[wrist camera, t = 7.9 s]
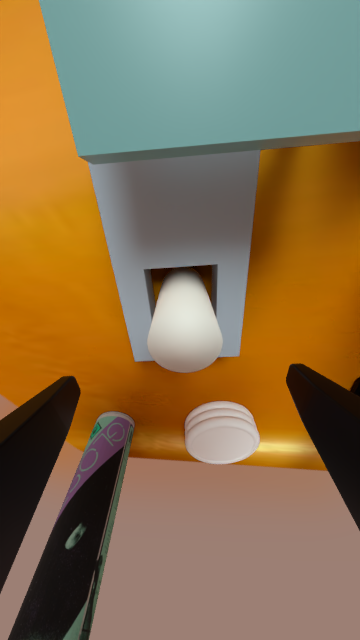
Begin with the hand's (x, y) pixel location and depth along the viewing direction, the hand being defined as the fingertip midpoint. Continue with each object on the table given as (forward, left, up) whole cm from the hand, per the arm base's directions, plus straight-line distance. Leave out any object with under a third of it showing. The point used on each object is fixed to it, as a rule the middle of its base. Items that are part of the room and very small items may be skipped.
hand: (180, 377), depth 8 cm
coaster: (-21, -4, -12) cm, 25 cm away
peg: (0, 0, -11) cm, 11 cm away
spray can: (-20, +11, -12) cm, 26 cm away
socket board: (+3, 0, -11) cm, 12 cm away
